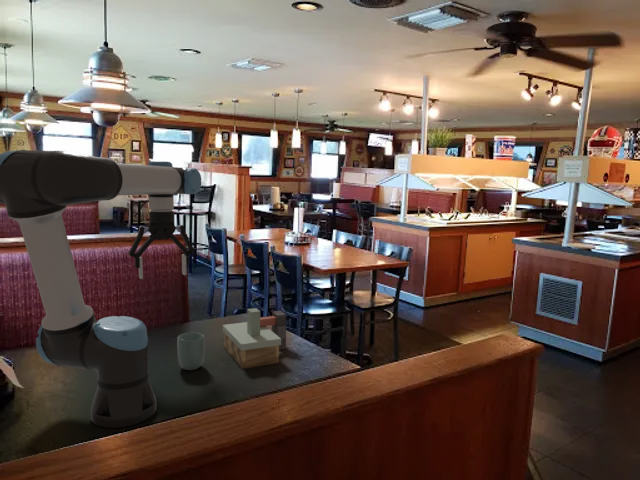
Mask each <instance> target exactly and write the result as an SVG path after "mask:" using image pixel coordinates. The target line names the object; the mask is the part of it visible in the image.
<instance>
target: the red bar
mask: <svg viewBox="0 0 640 480" xmlns="http://www.w3.org/2000/svg"><path fill="white" fill-rule="evenodd" d="M286 319H287V318H286V316H285V323H286V322H287V321H286ZM272 325H276V316H272V315H270V316H262V317H261V316H260V327H262V326H266V327H268V326H272Z"/></svg>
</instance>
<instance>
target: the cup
mask: <svg viewBox="0 0 640 480" xmlns="http://www.w3.org/2000/svg"><path fill="white" fill-rule="evenodd" d="M176 343H177V344H176V345H177V346H176V347H177V361H178V364H179V366H180V368H182V369H183V370H186V371H194V370H197V369H199V368H201V366H202V365H203V364H204V359H205V335H204V334H203V333H200V332H185V333H182V334H179V335H178V336H177V341H176Z"/></svg>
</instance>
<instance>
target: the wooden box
mask: <svg viewBox="0 0 640 480" xmlns="http://www.w3.org/2000/svg"><path fill="white" fill-rule="evenodd" d="M271 314H272V315H271V316H276V325H271V331H272V332H273V333H275V334H276V335H277V336H278V337H280V338H281V345H277V346H270V347H263V348H256V349H249V350H243V351H241V350H240V349H239V348H238V347H237V346H236V344H235V343H234V342H233V341H232V340H231V339H230V338H229V337H228V336H227V335H226V334H225V333H224V332H223V333H224V339H223V340H224V341H223V342H224V349H225V351H227V353H229V355H230V356H231V358H232V359H234V361H235V362H236V364H238V366H240V368H241V369H243V370H244V369H249V368H250V369H251V368H256V367H261V366H262V367H263V366H268V365H273V364H279V363H280V350H284V349H287V325H286V322H285V317H286V313H285V312H283V311H282V310H275V311H271Z"/></svg>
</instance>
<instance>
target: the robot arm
mask: <svg viewBox="0 0 640 480" xmlns="http://www.w3.org/2000/svg"><path fill="white" fill-rule="evenodd" d="M201 187H202V176H201V173H200V171H199V170H198V169H197V168H194V167H175V166H173V163H172V162H171V161H160V160H159V161H157V160H150V161H149V162H148V163H147V165H145V164H136V163H135V164H133V163H121V162H119V163H117V162H116V161H115V160H113V159H111V158H107V157H99V156H92V155H88V154H82V153H80V152H79V153H78V152H72V151H68V150H67V151H66V150H29V149H28V150H27V149H19V150H18V149H16V150H10V151H4V152H1V153H0V203H1V204H3V205H5V208H6V211H7V215H8V218H9V219H11V220H13V221H15V222H17V223H18V226H19V228H20V230H21V234H22V238H23V242H24V244H25V249H26V252H27V255H28V258H29V261H30V265H31V269H32V272H33V274H34V278H35V282H36V285H37V288H38V291H39V295H40V299H41V302H42V306H43V309H44V312H45V316H44V317H43V318H42V319H41V325H40V326H39V329H38V331H37V335H38V336H37V337H36V339H35V346H36V351H37V353H38V354H39V356H40V358H41V359H42V360H43V361H44V362H46V363H48V364H51V365H55V366H58V367H63V368H74V369H75V368H76V369H82V370H88V371H95V372H96V378H97V379H96V380H97V383H96V384H97V386H96V390H95V393H94V396H93V400H92V404H91V406H90V421H91V422H92V423H93V424H94V425H95V426H98V427H102V428H108V429H117V428H126V427H130V426H134V425H137V424H141V423H143V422H145V421H146V420H148V419H150V418H151V417H152V416H154V415H155V413H156V412H157V409H158V407H157V398H156V395H155V393H154V390H153V387H152V385H151V382H150V380H149V351H148V350H149V349H148V348H149V345H148V344H149V337H148V333H147V331H148V329H147V326H146V324H145V323H144V322H143V321H142V320H140V319H138V318H135V317H131V316H127V315H126V316H125V315H120V316H117V315H112V316H106V317H103V318H100V319H98V320H97V319H96V316H95V313H94V309H93V308H92V307H91V306H90V305H88V304H85V301H84V297H83V293H82V288H81V284H80V282H79V277H78V273H77V270H76V266H75V262H74V258H73V253H72V251H71V247H70V246H71V245H70V243H69V238H68V235H67V230H66V227H65V223H64V220H63V213H64V211H66V209H67V206H71V205H80V204H86V203H92V202H93V203H95V202H101V201H102V202H103V201H110V200H111V201H112V200H114V199H115V198H117V197H118V196H144V195H147V196H148V209H149V212H148V216H149V218H148V222H149V223H148V224H149V225H148V226H142V225H139V226H138V232H137V235H136V237H135V239H134V241H133V243H132V245H131V247H130V250H129V251H128V253H127V254H128V255H129V257H132V258H134V267H135V269H138V278H139V279H140V280H143V279H144V272H143V271H144V270H143V269H144V268H143V258H142V255H144V252H145V251H146V250H147V249H148V248H149V247H150V245H151V244H152V243H153V242H154V241H155V240H157V241H161V240H166V241H167V240H168V241H169V239H171V241H172V242H173V243H174V244H175V245H176V247H178V249H179V250H181V252H183V254H181V274H182V275H183V276H187V265H188V266H189V265H190V255H191V254H194V253H195V252H196V250H195V248H194V246H193V244H192V242H191V240H190V239H189V237H188V235H187V233H186V229H185V228H186V227H185V225H183V224H179V225H175V212H174V211H173V210H174V209H175V203H174V202H175V200H174V199H175V198H174V196H175V195H196V194H197V193H199V192H200V190H201ZM176 230H177V232H178V233H180V236H181V238H182V240H183V241H184V243H185V245H186V247H187V248H186V247H185V246H184V245H183V243H181V242H180V241H179V239H178V238H177V237H176V236H175V235H174V233H175V232H176ZM147 232H149V234H150V235H149V236H148V237H147V239H146V240H145V241H144V242H143V244H142V245H141V246H140V247H139V245H140V243H141V241H142V239H143V237H144V234H146V233H147ZM138 247H139V249H138ZM137 249H138V250H137Z"/></svg>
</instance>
